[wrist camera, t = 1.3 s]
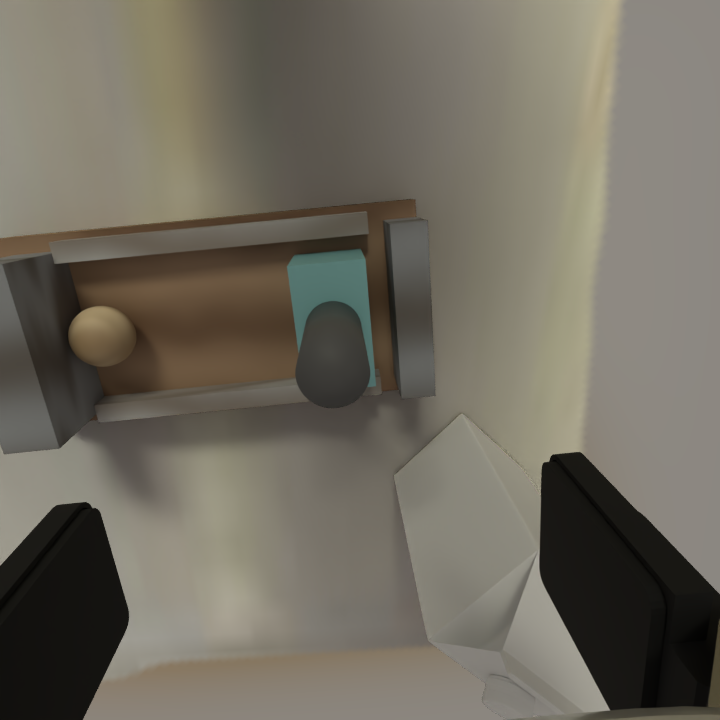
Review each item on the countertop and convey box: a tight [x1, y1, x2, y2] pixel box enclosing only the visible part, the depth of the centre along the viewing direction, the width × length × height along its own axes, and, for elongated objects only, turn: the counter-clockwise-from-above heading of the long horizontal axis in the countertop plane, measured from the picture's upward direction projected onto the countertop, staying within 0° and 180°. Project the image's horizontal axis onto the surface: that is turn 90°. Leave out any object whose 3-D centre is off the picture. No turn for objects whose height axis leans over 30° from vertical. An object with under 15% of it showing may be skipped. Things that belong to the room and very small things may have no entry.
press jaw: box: [287, 248, 376, 408], centre depth 26 cm, size 7×4×12 cm, turn 5°
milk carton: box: [394, 414, 610, 719], centre depth 29 cm, size 7×7×19 cm
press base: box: [0, 199, 436, 454], centre depth 30 cm, size 12×25×8 cm, turn 95°
